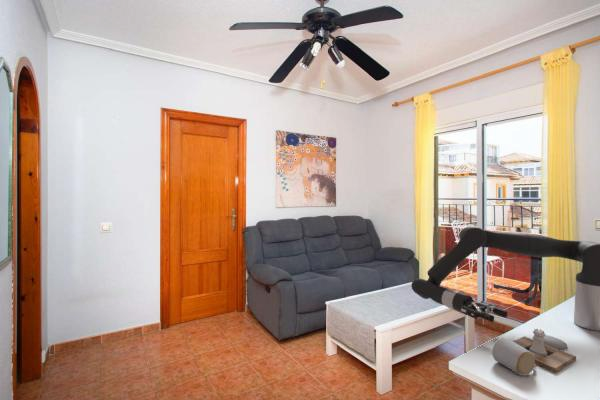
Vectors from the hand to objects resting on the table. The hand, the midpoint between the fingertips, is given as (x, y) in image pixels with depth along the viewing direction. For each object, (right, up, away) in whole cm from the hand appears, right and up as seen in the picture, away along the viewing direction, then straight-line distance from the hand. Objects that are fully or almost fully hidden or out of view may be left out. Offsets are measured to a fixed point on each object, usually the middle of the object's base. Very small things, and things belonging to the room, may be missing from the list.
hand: (500, 316), depth 105 cm
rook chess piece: (+5, -9, -10) cm, 14 cm away
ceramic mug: (-7, -9, -17) cm, 20 cm away
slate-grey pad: (+16, -8, -2) cm, 18 cm away
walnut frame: (+5, -8, -10) cm, 14 cm away
